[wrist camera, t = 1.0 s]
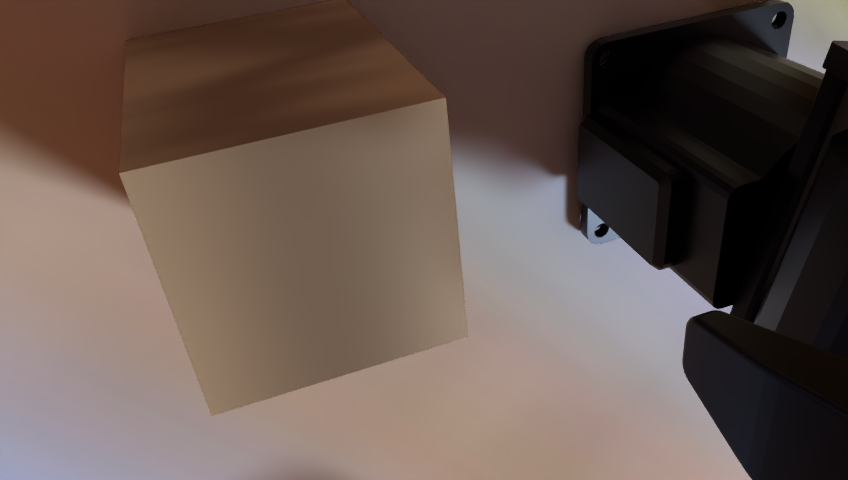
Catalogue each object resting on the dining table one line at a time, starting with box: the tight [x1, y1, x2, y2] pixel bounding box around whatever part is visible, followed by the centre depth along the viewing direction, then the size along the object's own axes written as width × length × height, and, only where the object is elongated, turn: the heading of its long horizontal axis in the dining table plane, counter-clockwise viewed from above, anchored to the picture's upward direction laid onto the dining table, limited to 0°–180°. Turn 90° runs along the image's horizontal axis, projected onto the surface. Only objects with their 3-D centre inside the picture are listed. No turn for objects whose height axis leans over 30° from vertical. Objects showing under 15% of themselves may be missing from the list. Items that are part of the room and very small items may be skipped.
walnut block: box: [119, 0, 468, 416], centre depth 15 cm, size 5×5×7 cm
